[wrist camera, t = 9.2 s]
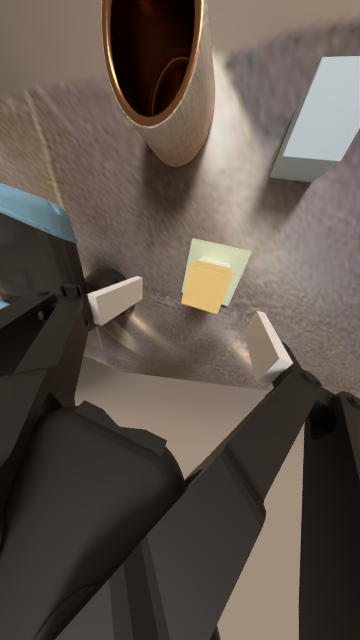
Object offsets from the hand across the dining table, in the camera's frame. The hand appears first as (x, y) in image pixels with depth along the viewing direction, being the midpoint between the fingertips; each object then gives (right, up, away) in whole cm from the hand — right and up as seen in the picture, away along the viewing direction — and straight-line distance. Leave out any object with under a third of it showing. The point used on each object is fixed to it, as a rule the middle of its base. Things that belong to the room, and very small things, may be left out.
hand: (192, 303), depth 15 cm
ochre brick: (+4, +5, +9) cm, 11 cm away
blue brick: (+16, +22, +3) cm, 27 cm away
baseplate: (+6, +9, +15) cm, 18 cm away
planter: (-1, +30, +5) cm, 30 cm away
